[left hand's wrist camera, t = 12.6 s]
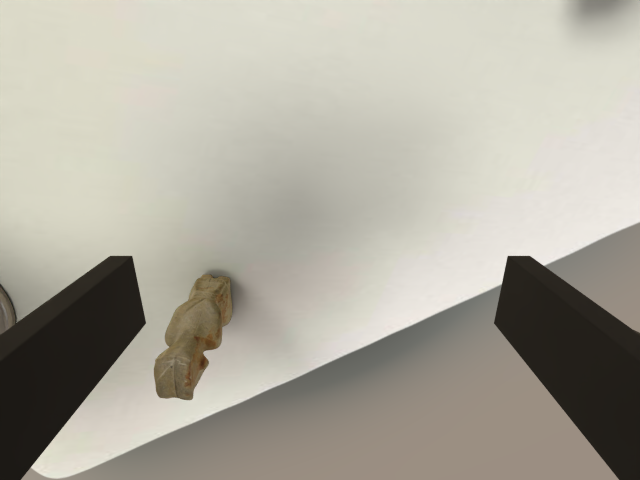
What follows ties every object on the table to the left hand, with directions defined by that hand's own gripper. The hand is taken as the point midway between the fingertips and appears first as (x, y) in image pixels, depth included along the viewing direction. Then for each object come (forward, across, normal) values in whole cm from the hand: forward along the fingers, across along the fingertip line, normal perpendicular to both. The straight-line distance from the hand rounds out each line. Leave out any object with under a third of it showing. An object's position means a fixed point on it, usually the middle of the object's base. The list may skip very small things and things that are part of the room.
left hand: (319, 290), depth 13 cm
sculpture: (+29, +13, +16) cm, 36 cm away
